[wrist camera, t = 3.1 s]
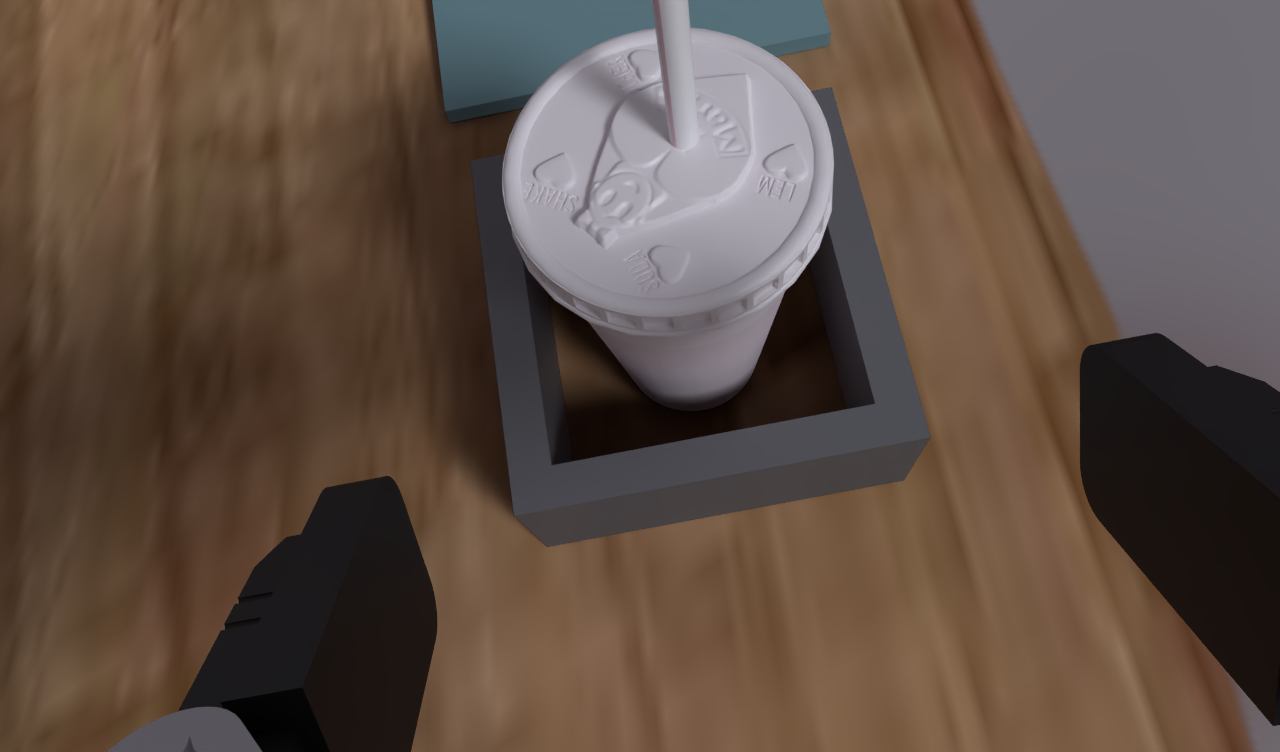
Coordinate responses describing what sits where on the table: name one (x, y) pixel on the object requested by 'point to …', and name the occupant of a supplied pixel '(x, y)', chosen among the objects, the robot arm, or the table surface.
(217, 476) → the table surface
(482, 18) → the coaster
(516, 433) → the frame
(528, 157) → the smoothie
